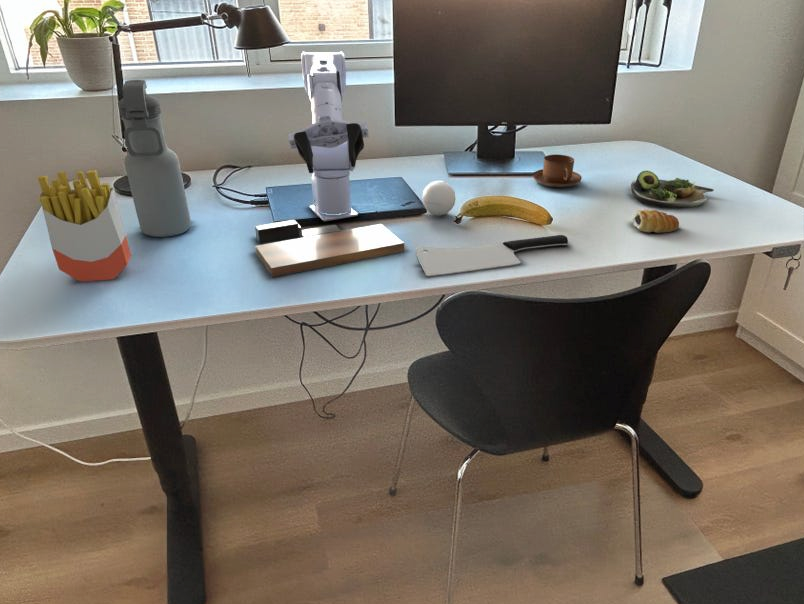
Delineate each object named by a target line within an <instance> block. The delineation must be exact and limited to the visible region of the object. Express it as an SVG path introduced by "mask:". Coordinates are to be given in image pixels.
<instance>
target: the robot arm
mask: <svg viewBox="0 0 804 604" xmlns="http://www.w3.org/2000/svg"><path fill="white" fill-rule="evenodd" d="M300 59H301V60H300V61H301V71H302V72H301V73H302V79H303V87H304V89H305V93H306V94H307V95H308V97H309V100H310V106H311V116H312V117H311V118H312V119H311V120H312V123H311V124H310V125H308V126H305V127H304V128H301V129H300V130H297V131H295V132H291V133H288V142H289V145H290V148H291V149H292V150H293V149H297V152H298V155H299V157H300V158H301V159H302V160H303V161H304V163H305V164H306V167H307V171H308V173H309V174H312V176H311V179H310V180H311V191H312V192H311V193H312V200H313V204H311V205H309V209H310V210H311V211H312V212H313V213H314V214H315V215H316V216H317V217H318V218H320V220H322V221H323V222H329V221H335V220H341V219H347V218H354V217H358V216H359V213H358V212H357V211H356V210H355V209H354V208H352V201H351V197H352V196H351V184H350V174H351V172H353V171H354V170H355V168H356V165H357V164H356V163H357V160H358V157H359V154H360V153H361V152H362V151H363V150H364V147H365V142H364V139H368V138H369V129H368V124H367V122H366V121H365V122H357V121H350V120H344V117H343V116H344V115H343V106H342V102H343V97H344V96H343V95H344V94H345V93H346V88H347V70H346V56H345V54H344V52H343V51H339V52H306V51H302V53H301V54H300ZM314 204H315V205H316V206H315V205H314ZM319 211H320V212H322V213H327V214H339V213H345V212H347V213H345V214H341V215H326V214H322V213H320V212H319ZM348 211H349V212H348Z"/></svg>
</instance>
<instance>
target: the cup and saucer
mask: <svg viewBox="0 0 804 604" xmlns="http://www.w3.org/2000/svg"><path fill="white" fill-rule="evenodd" d="M574 165H575V158H574V157H572V156H569V155H565V154H548V155H545V156H544V157H543V168H542V169H538V170H536V171H534V172H533V174H532V178H533V179H534V181H536V182H537V183H538V184H540V185H542V186H545V187H552V188H570V187H574V186H576V185H578V184H579V183H580V182H581V181H582V179H583V177H582V175H581V174H580V173H578V172H576V171H574Z"/></svg>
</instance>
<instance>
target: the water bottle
mask: <svg viewBox="0 0 804 604" xmlns="http://www.w3.org/2000/svg"><path fill="white" fill-rule="evenodd" d="M147 86H148V85H147V82H146V80H145V79H130V80H125V81H124V83H123V85H122V97H123V98H121V99H119V101H117V107H118V110H119V113H120V116H121V118H120V119H121V120H122V121H123V125H124V129H125V130H124V131H123V137H124V138H123V139H124V141H125V145H126V146H125V147H126V150H127V152H128V153H127V154H126V155H125V157H124V160H123V163H124V168H125V172H126V176H127V180H128V186H129V188H130V192H131V196H132V201H133V204H134V208H135V214H136V217H137V220H138V224H139V229H140V231H141V232H142V233H143V234H144V235H146V236H149V237H153V238H154V237H155V238H168V237H175V236H178V235H181V234H183V233H185V232H187V231H189V229H190V228H191V227H192V219H191V215H190V210H189V204H188V199H187V195H186V189H185V185H184V180H183V175H182V170H181V169H182V168H181V165H180V161H179V157H178V154H177V153H176V152H175V151H173V150H172V149H170V148H168V145H167V141H166V136H165V133H164V132H165V131H164V126H163V121H162V117H163V115H162V109H161V104H160V100H159V99H157V98H156V97H154V96H149V95H148V93H147V91H146V89H148V87H147Z"/></svg>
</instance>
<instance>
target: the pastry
mask: <svg viewBox="0 0 804 604" xmlns="http://www.w3.org/2000/svg"><path fill="white" fill-rule="evenodd" d="M632 222H633V226H634V227H635V228H636V229H638V230H639V231H640V232H643V233H651V232H654V233H655V234H656V233H657V234H661V233H670V232H674V231H676V230H678V229H679V228H680V222H679V219H678V218H677V217H676V216H675V215H673V214H667V212H663V211H658V210H656V209H651V210H649V209H642V210H641V209H640V210H636V213H635V214H634V215H633V217H632Z"/></svg>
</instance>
